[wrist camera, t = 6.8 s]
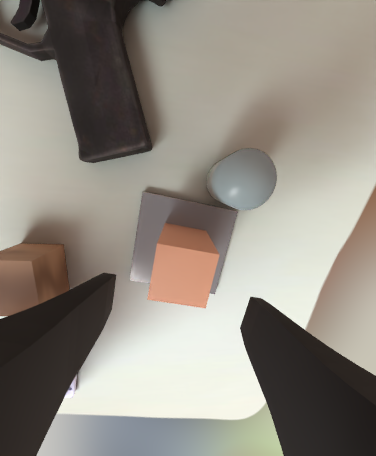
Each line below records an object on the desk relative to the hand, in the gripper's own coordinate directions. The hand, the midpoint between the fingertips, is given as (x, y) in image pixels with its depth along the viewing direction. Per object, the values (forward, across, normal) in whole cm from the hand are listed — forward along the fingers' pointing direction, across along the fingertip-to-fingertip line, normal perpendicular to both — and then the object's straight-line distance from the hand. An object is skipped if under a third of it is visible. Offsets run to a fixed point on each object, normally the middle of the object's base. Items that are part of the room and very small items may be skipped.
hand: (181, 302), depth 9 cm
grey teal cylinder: (+9, -3, -7) cm, 12 cm away
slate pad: (+9, 0, 0) cm, 9 cm away
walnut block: (+9, +13, +5) cm, 17 cm away
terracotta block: (+8, 0, 0) cm, 8 cm away
